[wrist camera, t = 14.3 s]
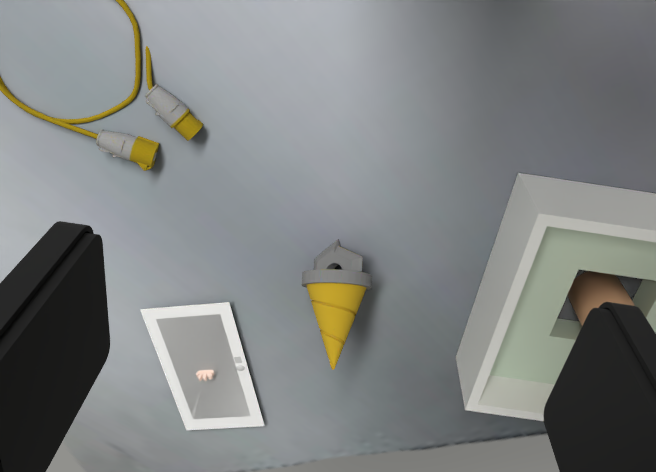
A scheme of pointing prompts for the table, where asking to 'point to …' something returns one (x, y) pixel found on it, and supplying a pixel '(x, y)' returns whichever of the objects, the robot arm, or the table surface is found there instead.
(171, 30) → the table surface
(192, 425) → the white grey flat rectangle
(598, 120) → the table surface
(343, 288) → the yellow tapered spiral part
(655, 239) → the holed box
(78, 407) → the robot arm
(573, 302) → the peg
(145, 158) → the extension cord
